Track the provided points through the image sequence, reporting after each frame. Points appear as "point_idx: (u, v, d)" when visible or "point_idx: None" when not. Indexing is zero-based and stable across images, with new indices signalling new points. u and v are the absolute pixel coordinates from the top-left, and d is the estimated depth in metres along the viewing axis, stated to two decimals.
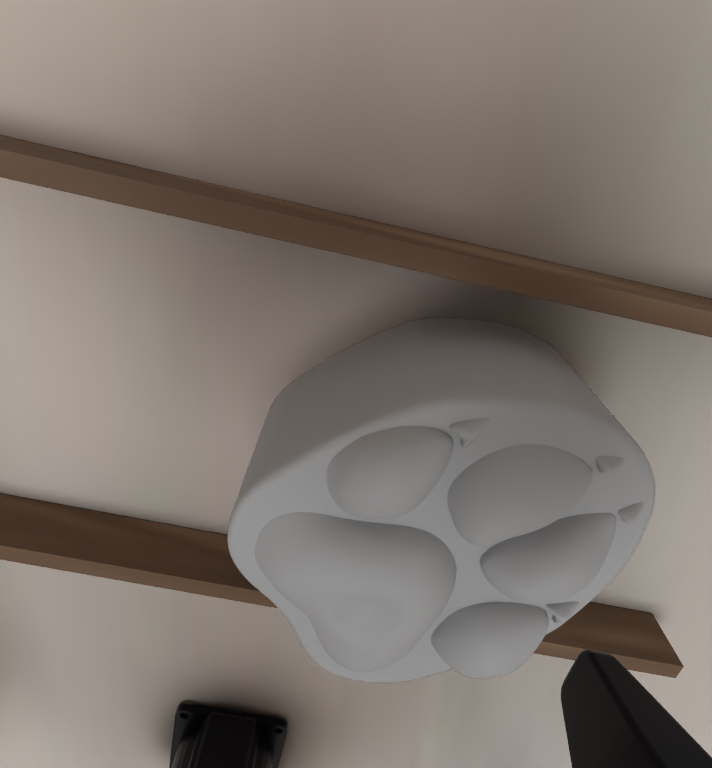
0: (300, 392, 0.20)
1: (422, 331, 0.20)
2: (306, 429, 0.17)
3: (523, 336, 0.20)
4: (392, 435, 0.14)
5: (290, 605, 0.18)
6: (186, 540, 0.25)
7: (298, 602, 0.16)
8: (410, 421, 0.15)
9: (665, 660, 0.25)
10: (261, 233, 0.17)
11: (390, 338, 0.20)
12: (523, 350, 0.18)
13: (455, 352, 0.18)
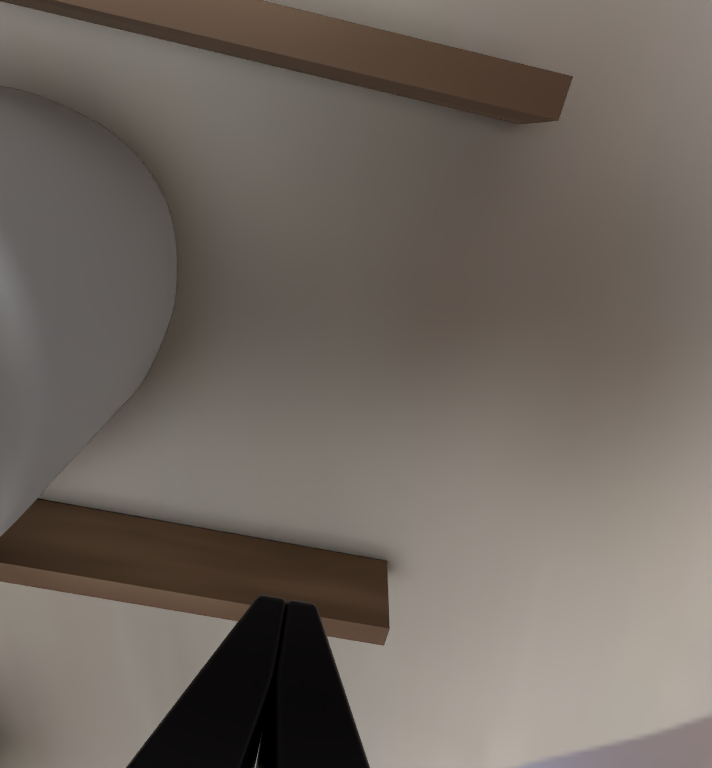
0: None
1: None
2: None
3: (23, 95, 0.13)
4: None
5: None
6: None
7: None
8: None
9: (365, 620, 0.17)
10: None
11: None
12: None
13: None
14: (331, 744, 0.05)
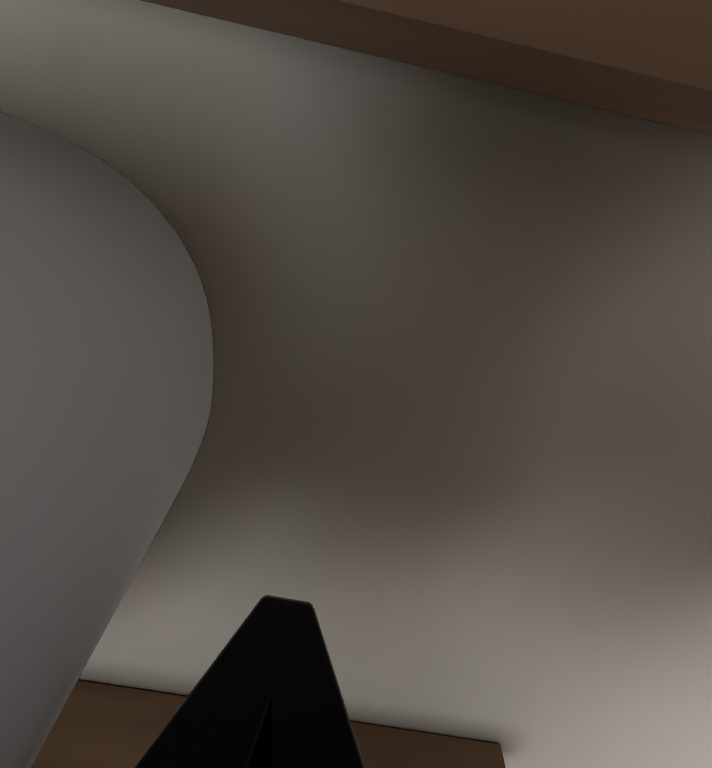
0: None
1: None
2: None
3: None
4: None
5: None
6: None
7: None
8: None
9: None
10: None
11: None
12: None
13: None
14: (326, 743, 0.05)
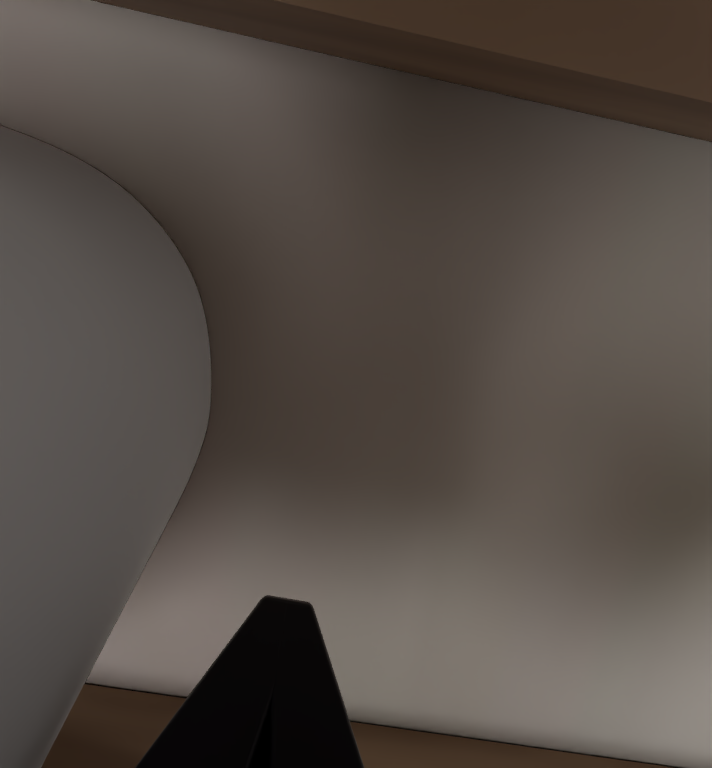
0: None
1: None
2: None
3: None
4: None
5: None
6: None
7: None
8: None
9: None
10: None
11: None
12: None
13: None
14: (325, 743, 0.05)
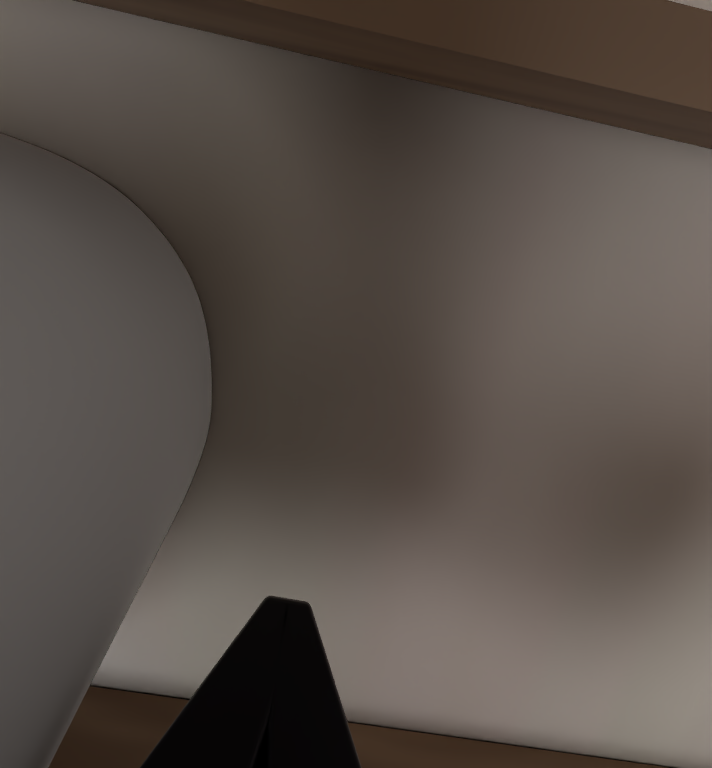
0: None
1: None
2: None
3: None
4: None
5: None
6: None
7: None
8: None
9: None
10: (689, 97, 0.05)
11: None
12: None
13: None
14: (323, 743, 0.05)
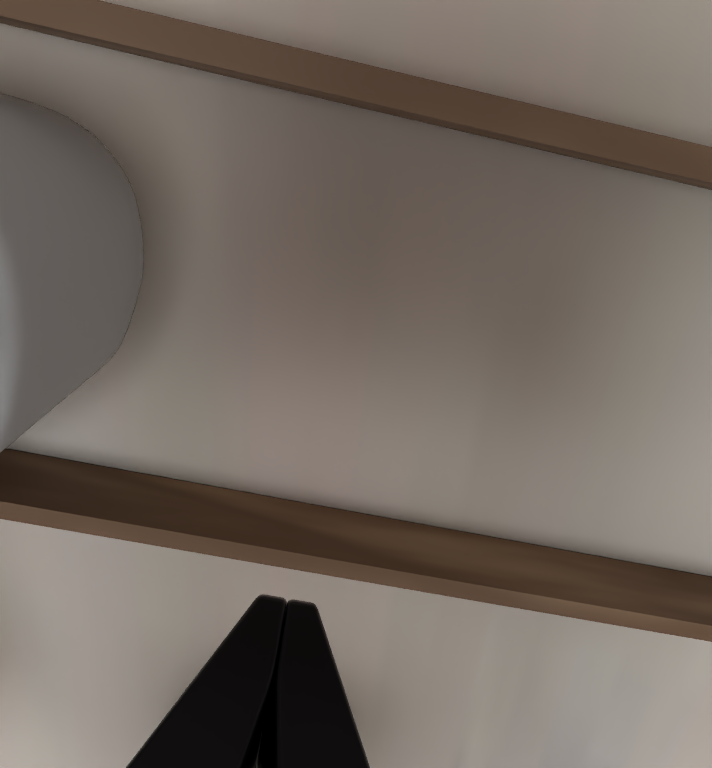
0: None
1: None
2: None
3: (1, 96, 0.15)
4: None
5: None
6: (208, 498, 0.21)
7: None
8: None
9: None
10: (311, 85, 0.13)
11: None
12: None
13: None
14: (331, 744, 0.05)
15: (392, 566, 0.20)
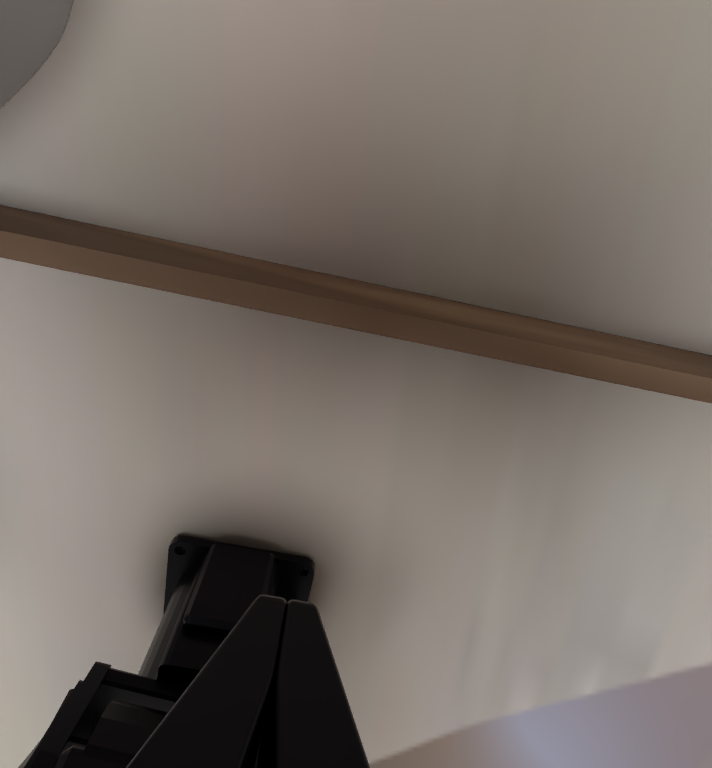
0: None
1: None
2: None
3: None
4: None
5: None
6: (178, 248, 0.18)
7: None
8: None
9: None
10: None
11: None
12: None
13: None
14: (331, 744, 0.05)
15: (402, 312, 0.16)
